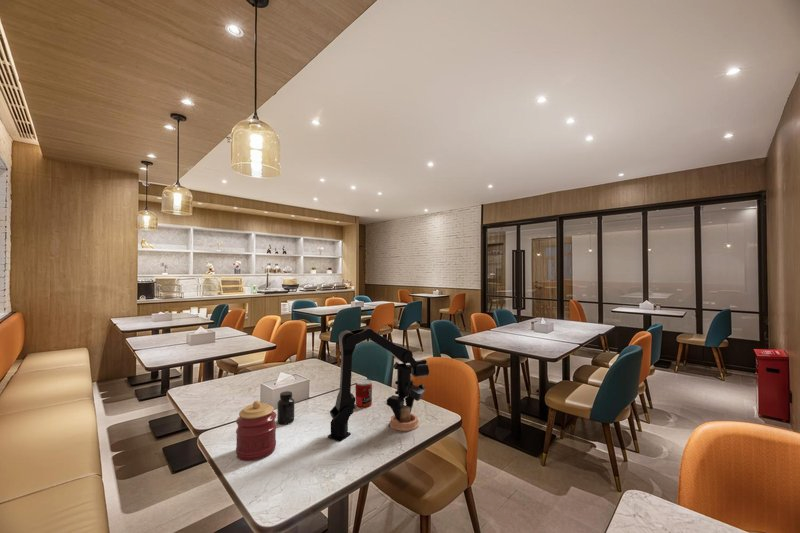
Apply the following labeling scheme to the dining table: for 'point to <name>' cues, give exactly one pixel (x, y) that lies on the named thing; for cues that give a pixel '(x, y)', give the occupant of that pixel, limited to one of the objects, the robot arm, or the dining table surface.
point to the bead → (405, 414)
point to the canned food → (363, 393)
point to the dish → (404, 426)
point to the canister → (256, 432)
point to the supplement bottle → (285, 408)
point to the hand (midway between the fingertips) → (404, 416)
